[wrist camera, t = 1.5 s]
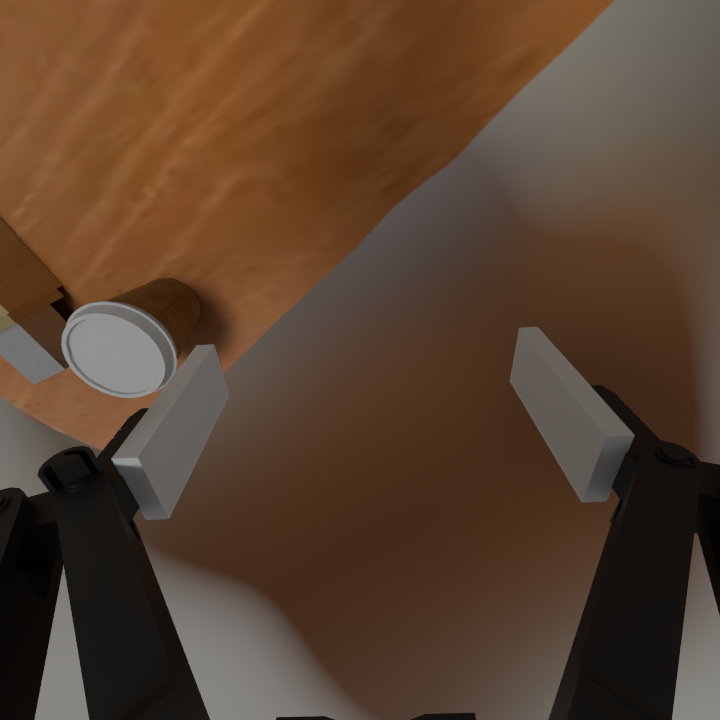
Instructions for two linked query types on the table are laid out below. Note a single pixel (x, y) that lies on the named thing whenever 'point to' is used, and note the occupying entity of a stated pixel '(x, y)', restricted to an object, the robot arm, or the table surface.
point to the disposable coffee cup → (131, 338)
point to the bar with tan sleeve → (28, 311)
